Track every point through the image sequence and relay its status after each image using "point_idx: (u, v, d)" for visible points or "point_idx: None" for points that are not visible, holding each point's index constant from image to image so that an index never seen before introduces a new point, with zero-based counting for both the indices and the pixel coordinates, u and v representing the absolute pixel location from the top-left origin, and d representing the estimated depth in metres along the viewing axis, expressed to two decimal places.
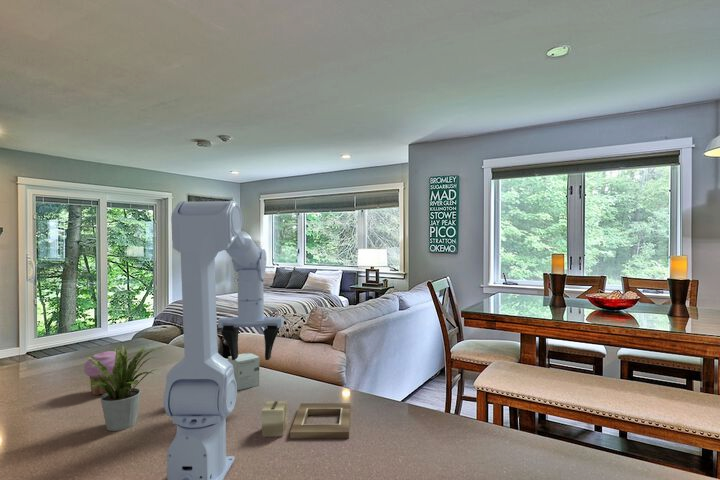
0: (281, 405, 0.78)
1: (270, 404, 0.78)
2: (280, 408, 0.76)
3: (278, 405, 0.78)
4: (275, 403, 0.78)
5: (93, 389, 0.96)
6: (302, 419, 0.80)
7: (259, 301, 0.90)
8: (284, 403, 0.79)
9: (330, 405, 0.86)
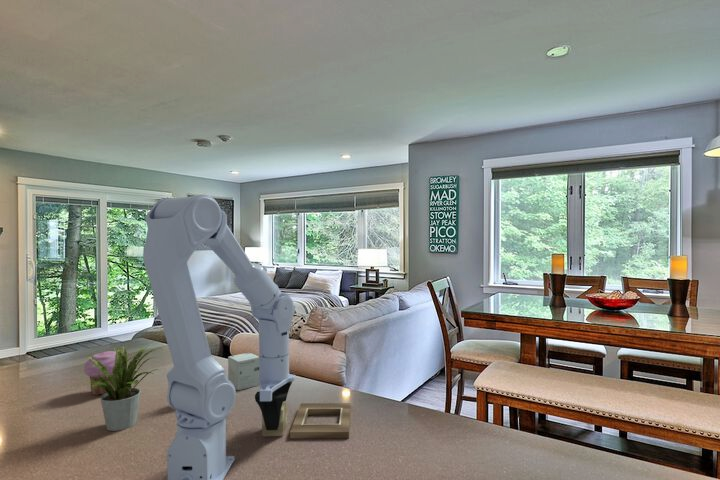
0: None
1: None
2: None
3: None
4: None
5: (93, 389, 0.96)
6: (302, 419, 0.80)
7: (263, 359, 0.75)
8: (284, 403, 0.79)
9: (330, 405, 0.86)
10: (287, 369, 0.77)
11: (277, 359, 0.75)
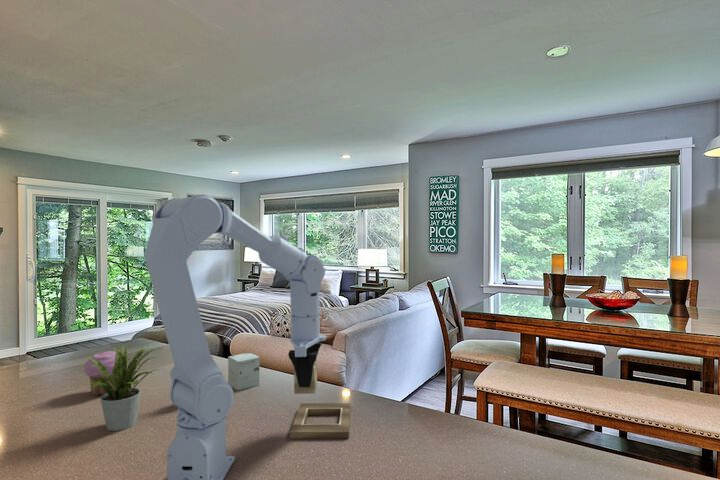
0: None
1: None
2: None
3: None
4: None
5: (93, 389, 0.96)
6: (302, 419, 0.80)
7: (296, 318, 0.77)
8: (314, 363, 0.81)
9: (330, 405, 0.86)
10: (318, 329, 0.79)
11: (309, 318, 0.77)
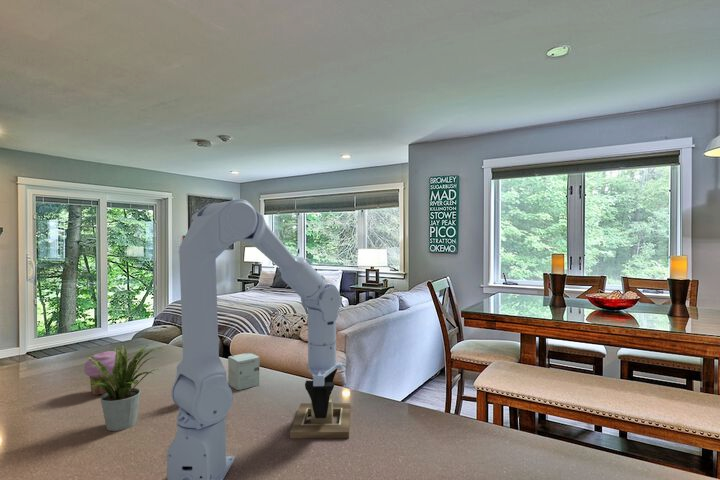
0: (329, 398, 0.81)
1: None
2: (329, 400, 0.80)
3: None
4: None
5: (93, 389, 0.96)
6: (302, 419, 0.80)
7: (313, 346, 0.79)
8: (331, 396, 0.82)
9: None
10: (335, 357, 0.80)
11: (326, 347, 0.78)
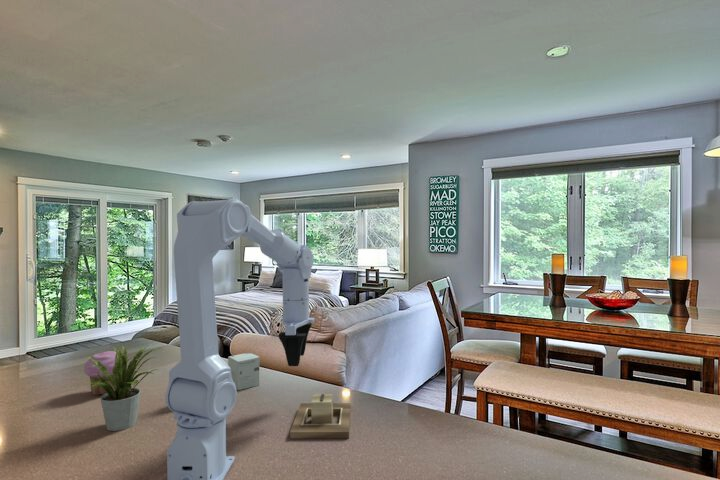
0: (329, 398, 0.81)
1: (317, 397, 0.81)
2: (329, 400, 0.80)
3: (325, 397, 0.81)
4: (322, 396, 0.82)
5: (93, 389, 0.96)
6: (302, 419, 0.80)
7: (287, 302, 0.86)
8: (331, 396, 0.82)
9: None
10: (307, 312, 0.88)
11: (299, 302, 0.86)
